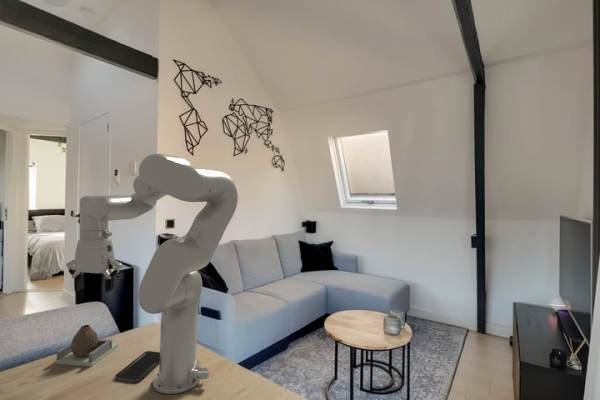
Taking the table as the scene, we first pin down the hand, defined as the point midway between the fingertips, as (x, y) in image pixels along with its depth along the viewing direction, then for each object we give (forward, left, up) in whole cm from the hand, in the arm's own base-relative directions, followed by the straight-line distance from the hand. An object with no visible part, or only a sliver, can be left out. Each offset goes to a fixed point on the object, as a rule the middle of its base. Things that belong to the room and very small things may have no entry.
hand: (94, 290), depth 99 cm
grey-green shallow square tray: (+1, 0, -21) cm, 21 cm away
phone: (-19, +4, -21) cm, 28 cm away
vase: (+1, +2, -20) cm, 20 cm away
